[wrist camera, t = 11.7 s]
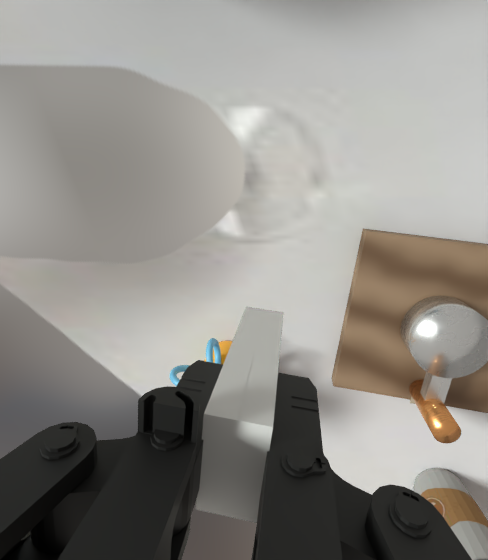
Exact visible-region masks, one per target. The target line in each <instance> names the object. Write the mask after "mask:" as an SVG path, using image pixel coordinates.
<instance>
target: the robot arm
mask: <svg viewBox="0 0 488 560" xmlns="http://www.w3.org/2000/svg"><path fill="white" fill-rule="evenodd" d="M282 323H283V312H278V311H271V310H265V309H258V308H252V307H246V309H245V311H244V314H243V316H242V319H241V321H240V324H239V326H238V329H237V331H236V334H235V336H234V339H233V341H232V344H231V347H230V349H229V352H228V354H227V357H226V359H225V362H224V364H218V363H212V362H206V361H200V360H198V361H196V362H195V363H193V364H192V365H190V366H189V367H187V369H186V371H185V372H184V374H183V376H182V378H181V379H180V381H179V383H178V384H177V387H162V388H156V389H154V390H152V391H149V392H147V393H145V394H144V395H143V396H142V397H141V398H140V399H139V401H138V433H137V434H136V436H133V437H130V438H124V439H115V440H100V441H96V435H95V432H94V430H93V429H92V428H90V427H89V426H88V425H86V424H82V423H78V422H70V423H61V424H58V425H54V426H51V427H48V428H47V429H45V430H43V431H41V432H39V433H37V434H36V435H34V436H33V437H32V438H30V439H29V440H27V441H26V442H24V443H23V444H22V445H20V446H19V447H17V448H16V449H14V450H13V451H11V452H10V453H9V454H7V455H6V456H4V457H3V458H1V459H0V560H181V559H182V556H183V553H184V550H185V546H186V543H187V540H188V536H189V531H190V521H191V514H192V511H193V508H194V505H195V501H196V498H197V501H196V509H197V510H201V511H206V512H210V513H215V514H219V515H223V516H228V517H233V518H237V519H241V520H246V521H250V522H255V523H257V527H256V534H255V541H254V547H253V553H252V560H472V559H471V557H470V556H469V554H468V553H467V551H466V550H465V548H464V547H463V545H462V544H461V542H460V541H459V539H458V538H457V537H456V535H455V534H454V532H453V531H452V529H451V528H450V526H449V525H448V523H447V522H446V520H445V519H444V517H443V516H442V515H441V514H440V512H439V511H438V510H437V509H436V508H435V507H434V506H433V504H432V503H430V502H429V501H428V500H426V499H425V498H424V497H422V496H421V495H420V494H418V493H416V492H414V491H412V490H410V489H407V488H405V487H401V486H395V485H387V486H382V487H379V488H378V489H377V490H376V491H375V492H374V493H373V495H371V494H369V493H367V492H365V491H363V490H361V489H358V488H356V487H354V486H352V485H351V484H349V483H347V482H346V481H344V480H343V479H341V478H340V477H339V476H338V475H337V474H335V473H334V471H333V470H332V469H331V468H330V465H329V462H328V460H327V459H326V457H325V456H324V454H323V448H322V438H321V428H320V419H319V413H318V411H319V409H318V403H317V402H318V399H317V390H316V388H315V386H314V385H313V384H312V382H311V381H310V379H309V378H305V377H299V376H293V375H288V374H282V373H278V367H279V356H280V345H281V334H282Z"/></svg>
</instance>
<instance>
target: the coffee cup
mask: <svg viewBox="0 0 488 560" xmlns="http://www.w3.org/2000/svg"><path fill="white" fill-rule="evenodd" d="M413 488H414V492H416V493H418V494H420V495H421V496H422V497H424V498H425V499H426V500H428V501H429V502H430V503H432V504H433V506H434V507H435V508H436V509H437V510H438V511H439V512H440V514H441V515H442V516H443V517H444V519H445V520H446V522H447V523H448V525H449V526H450V528H451V529H452V531H453V532H454V534H455V535H456V537H457V538H458V539H459V541H460V542H461V544H462V545H463V547H464V548H465V550H466V551H467V553H468V554H469V556H470V557H471V559H472V560H488V521H487V519H486V518H485V516H484V514H483V513H482V511H481V510H480V508H479V507H478V505H477V504H476V502H475V501H474V500H473V498H472V497H471V496H470V494H469V492H468V491H467V489H466V488H465V486H464V485H463V483H462V482H461V480H460V479H459V478H458V477H457V476H456V475H454V474H453V473H451V472H450V471H448V470H445V469H441V468H431V469H427V470H425V471H423V472H421V473H420V474H419V475H418V476H417V477H416V479H415V482H414V487H413Z"/></svg>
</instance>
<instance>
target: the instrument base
mask: <svg viewBox="0 0 488 560" xmlns="http://www.w3.org/2000/svg"><path fill="white" fill-rule="evenodd" d="M432 296H450V297H454V298H456V299H459V300H461V301H462V302H464V303H465V304H467V305H468V306H469V307H471V308H472V309H474V310H475V311H476V312H478V313H479V314H481V315H482V316H483V317H485V318H486V319H487V320H488V244H483V243H475V242H467V241H459V240H451V239H442V238H434V237H426V236H418V235H410V234H402V233H394V232H386V231H377V230H369V229H363V231H362V236H361V241H360V245H359V250H358V255H357V260H356V265H355V269H354V274H353V279H352V284H351V288H350V293H349V298H348V303H347V307H346V312H345V317H344V322H343V326H342V331H341V336H340V341H339V346H338V350H337V355H336V360H335V365H334V369H333V374H332V381H333V386H336V387H342V388H347V389H353V390H359V391H365V392H370V393H376V394H382V395H387V396H393V397H399V398H405V399H410V403H414V404H416V403H415V401H414V399H413V398H412V396H411V394H410V392H409V387H410V385H411V383H412V382H414V381H416V380H424V378H425V375H426V371H425V370H423V369H422V368H421V367H420V366H419V365H418V363H417V362H416V360H415V359H414V358H413V356H412V355H411V353H410V352H409V350H408V349H407V347H406V346H405V344H404V342H403V340H402V337H401V323H402V320H403V318H404V316H405V314H406V313H407V311H408V310H409V309H410V308H411V307H412V306H413V305H414V304H416V303H417V302H419V301H421V300H423V299H425V298H428V297H432ZM444 405H445V406H450V407H456V408H462V409H467V410H473V411H479V412H485V413H488V361H487V363H486V364H485V365H484V366H483V367H481V368H480V369H479V370H477V371H475V372H474V373H472V374H469V375H467V376H463V377H459V378H452V380H451V384H450V387H449V390H448V393H447V396H446V399H445V402H444Z"/></svg>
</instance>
